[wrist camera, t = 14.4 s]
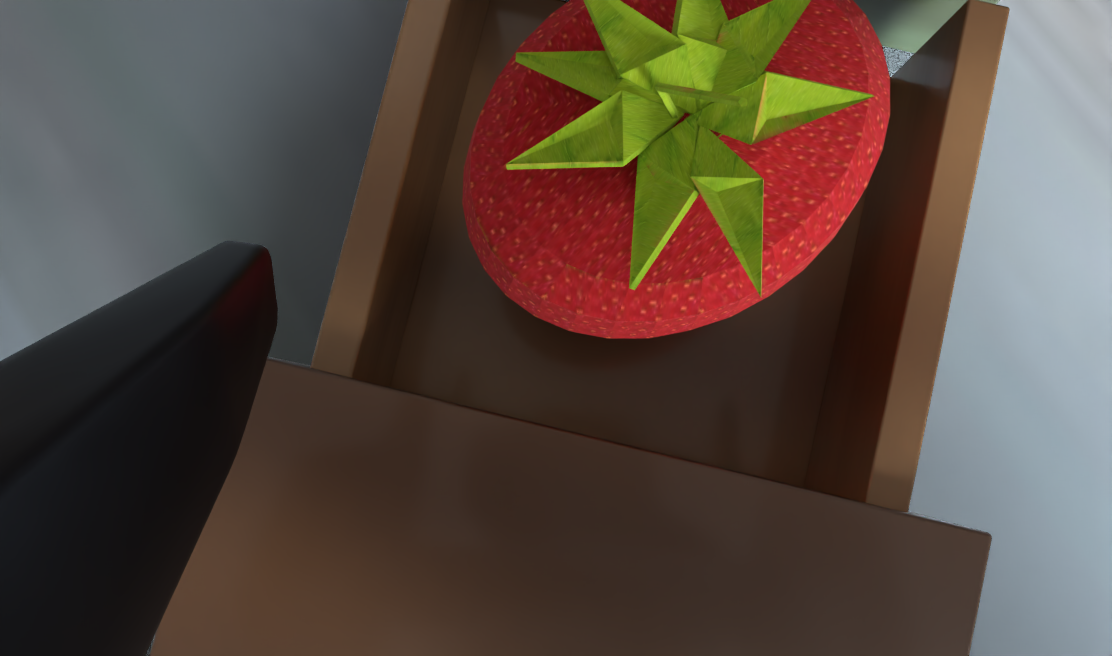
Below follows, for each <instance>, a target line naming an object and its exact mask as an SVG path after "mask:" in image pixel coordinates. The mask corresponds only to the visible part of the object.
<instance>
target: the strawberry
mask: <svg viewBox="0 0 1112 656" xmlns="http://www.w3.org/2000/svg"><path fill="white" fill-rule="evenodd" d="M889 117H890V76H889V72H888V68H887V64H886V60H885V56H884V52H883V48H882V44H881V42H880V40H879V39H878V37H877V35H876V33H875V31H874V29H873V27H872V25H871V23H870V21H869V20H868V18H867V16H866V14H865V13H864V12H863V11H862V10H861V9H860V8H859V6H858V5H857V4H856V3H855V2H854V1H853V0H570V1H569V2H567V3H566V4H564V5H563V6H562V7H560V8H559V9H557V10H556V11H555V12H553V13H552V14H551V15H550V16H549V17H548V18H547V19H546V20H545V21H544V22H543V23H542V24H541V25H540V26H539V27H538V28H537V29H536V30H535V31H534V32H533V33H532V34H531V35H530V36H529V37H528V38H527V39H526V40H525V41H524V42H523V43H522V44H521V45H520V46H519V48H518V49H517V51H516V52H515V53H514V55H513V56H512V58H511V59H510V60H509V62H508V63H507V65H506V66H505V67H504V69H503V70H502V72H501V73H500V74H499V76H498V77H497V79H496V81H495V83H494V86H493V88H492V90H491V92H490V94H489V96H488V98H487V100H486V102H485V104H484V106H483V109H482V111H481V113H480V115H479V118H478V120H477V123H476V126H475V128H474V131H473V134H472V138H471V142H470V146H469V149H468V153H467V157H466V161H465V165H464V174H463V199H462V205H463V210H464V215H465V220H466V225H467V230H468V235H469V239H470V241H471V243H472V245H473V247H474V249H475V251H476V254H477V256H478V258H479V260H480V262H481V264H482V266H483V268H484V270H485V271H486V272H487V273H488V275H489V276H490V277H491V278H492V279H493V281H494V282H495V283H496V284H497V285H498V287H499V288H500V289H501V290H502V291H503V292H504V294H505V295H506V296H507V297H509V298H510V299H512V300H513V301H514V302H516V303H517V304H518V305H520V306H521V307H523V308H524V309H525V310H527V311H528V312H529V313H531V314H532V315H534V316H535V317H537V318H540V319H542V320H544V321H547V322H549V323H551V324H554V325H556V326H559V327H561V328H563V329H566V330H568V331H572V332H577V333H582V334H587V335H593V336H598V337H603V338H653V337H658V336H664V335H669V334H674V333H679V332H684V331H689V330H692V329H695V328H699V327H702V326H705V325H708V324H711V323H714V322H717V321H720V320H723V319H726V318H729V317H732V316H733V315H735V314H737V313H739V312H741V311H743V310H744V309H746V308H748V307H750V306H752V305H754V304H756V303H757V302H759V301H761V300H763V299H765V298H767V297H769V296H770V295H771V294H773V293H774V292H775V291H777V290H778V289H779V288H781V287H782V286H783V285H784V284H786V283H787V282H788V281H790V280H791V279H792V278H794V277H795V276H796V275H798V274H799V273H800V272H802V271H803V270H804V269H805V268H806V267H807V266H808V265H809V264H810V263H811V262H812V261H813V260H814V258H815V257H816V256H817V255H818V254H819V253H820V252H821V251H822V250H823V249H824V248H825V247H826V246H827V245H828V244H829V243H830V242H831V241H832V240H833V238H834V237H835V235H836V234H837V232H838V231H839V229H840V228H841V226H842V225H843V223H844V222H845V220H846V219H847V217H848V216H849V214H850V213H851V211H852V210H853V208H854V207H855V205H856V204H857V202H858V200H859V199H860V197H861V195H862V194H863V192H864V190H865V189H866V187H867V185H868V182H869V180H870V178H871V175H872V173H873V171H874V169H875V166H876V164H877V162H878V159H879V157H880V155H881V152H882V150H883V145H884V140H885V136H886V131H887V126H888V121H889Z"/></svg>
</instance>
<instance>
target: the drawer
mask: <svg viewBox="0 0 1112 656" xmlns="http://www.w3.org/2000/svg"><path fill="white" fill-rule="evenodd" d="M853 1H854V2H855V3H856V4H857V5H858V6H859V8H860V9H861V10H862V11H863V12H864V13H865V14H866V16H867V18H868V20H869V21H870V23H871V25H872V27H873V29H874V31H875V33H876V35H877V37H878V39H879V40H880V42H881V44H882V46H885V47H889V48H894V49H898V50H902V51H907V52H911V53H915V54H914V55H913V56H912V57H911V58H910V59H909V60H908V61H907V62H906V63H905V64H904V65H903V66H902V67H901V68H900V69H899V70H898V71H897V72H896V73H895V74H894V75H893V76H892V77H890V117H889V121H888V126H887V131H886V136H885V140H884V145H883V150H882V152H881V155H880V157H879V159H878V162H877V164H876V166H875V169H874V171H873V173H872V175H871V178H870V180H869V182H868V185H867V187H866V189H865V190H864V192H863V194H862V195H861V197H860V199H859V200H858V202H857V204H856V205H855V207H854V208H853V210H852V211H851V213H850V214H849V216H848V217H847V219H846V220H845V222H844V223H843V225H842V226H841V228H840V229H839V231H838V232H837V234H836V235H835V237H834V238H833V240H832V241H831V242H830V243H829V244H828V245H827V246H826V247H825V248H824V249H823V250H822V251H821V252H820V253H819V254H818V255H817V256H816V257H815V258H814V260H813V261H812V262H811V263H810V264H809V265H808V266H807V267H806V268H805V269H804V270H803V271H802V272H800V273H799V274H798V275H796V276H795V277H794V278H792V279H791V280H790V281H788V282H787V283H786V284H784V285H783V286H782V287H781V288H779V289H778V290H777V291H775V292H774V293H773V294H771V295H770V296H769V297H767V298H765V299H763V300H761V301H759V302H757V303H756V304H754V305H752V306H750V307H748V308H746V309H744V310H743V311H741V312H739V313H737V314H735V315H733V316H732V317H729V318H726V319H723V320H720V321H717V322H714V323H711V324H708V325H705V326H702V327H699V328H695V329H692V330H689V331H684V332H679V333H674V334H669V335H664V336H658V337H653V338H603V337H598V336H593V335H587V334H582V333H577V332H572V331H568V330H566V329H563V328H561V327H559V326H556V325H554V324H551V323H549V322H547V321H544V320H542V319H540V318H537V317H535V316H534V315H532V314H531V313H529V312H528V311H527V310H525V309H524V308H523V307H521V306H520V305H518V304H517V303H516V302H514V301H513V300H512V299H510V298H509V297H507V296H506V295H505V294H504V292H503V291H502V290H501V289H500V288H499V287H498V285H497V284H496V283H495V282H494V281H493V279H492V278H491V277H490V276H489V275H488V273H487V272H486V271H485V270H484V268H483V266H482V264H481V262H480V260H479V258H478V256H477V254H476V251H475V249H474V247H473V245H472V243H471V241H470V239H469V235H468V230H467V225H466V220H465V215H464V210H463V205H462V199H463V174H464V165H465V161H466V157H467V153H468V149H469V146H470V142H471V138H472V134H473V131H474V128H475V126H476V123H477V120H478V118H479V115H480V113H481V111H482V109H483V106H484V104H485V102H486V100H487V98H488V96H489V94H490V92H491V90H492V88H493V86H494V83H495V81H496V79H497V77H498V76H499V74H500V73H501V72H502V70H503V69H504V67H505V66H506V65H507V63H508V62H509V60H510V59H511V58H512V56H513V55H514V53H515V52H516V51H517V49H518V48H519V46H520V45H521V44H522V43H523V42H524V41H525V40H526V39H527V38H528V37H529V36H530V35H531V34H532V33H533V32H534V31H535V30H536V29H537V28H538V27H539V26H540V25H541V24H542V23H543V22H544V21H545V20H546V19H547V18H548V17H549V16H550V15H551V14H552V13H553V12H555V11H556V10H557V9H559V8H560V7H562V6H563V5H564V4H566V3H567V2H566V1H562V0H408V2H407V6H406V10H405V14H404V17H403V21H402V25H401V29H400V32H399V36H398V40H397V44H396V47H395V51H394V55H393V59H392V62H391V66H390V70H389V74H388V77H387V81H386V85H385V89H384V92H383V96H382V100H381V103H380V107H379V111H378V115H377V118H376V122H375V126H374V130H373V133H372V137H371V141H370V145H369V148H368V152H367V156H366V160H365V163H364V167H363V171H362V175H361V178H360V182H359V186H358V190H357V193H356V197H355V201H354V205H353V208H352V212H351V216H350V220H349V223H348V227H347V231H346V235H345V238H344V242H343V246H342V249H341V253H340V257H339V261H338V264H337V268H336V272H335V276H334V279H333V283H332V287H331V291H330V294H329V298H328V302H327V306H326V309H325V313H324V317H323V321H322V324H321V328H320V332H319V336H318V339H317V343H316V347H315V351H314V354H313V358H312V362H311V366H310V368H314V369H318V370H322V371H326V372H330V373H334V374H338V375H343V376H347V377H351V378H355V379H359V380H363V381H367V382H371V383H376V384H380V385H384V386H388V387H392V388H396V389H400V390H404V391H408V392H413V393H417V394H421V395H425V396H429V397H433V398H437V399H441V400H446V401H450V402H454V403H458V404H462V405H466V406H470V407H474V408H479V409H483V410H487V411H491V412H495V413H499V414H503V415H507V416H511V417H516V418H520V419H524V420H528V421H532V422H536V423H540V424H544V425H549V426H553V427H557V428H561V429H565V430H569V431H573V432H577V433H581V434H586V435H590V436H594V437H598V438H602V439H606V440H610V441H614V442H619V443H623V444H627V445H631V446H635V447H639V448H643V449H647V450H652V451H656V452H660V453H664V454H668V455H672V456H676V457H680V458H684V459H689V460H693V461H697V462H701V463H705V464H709V465H713V466H717V467H722V468H726V469H730V470H734V471H738V472H742V473H746V474H750V475H755V476H759V477H763V478H767V479H771V480H775V481H779V482H783V483H787V484H792V485H796V486H800V487H804V488H808V489H812V490H816V491H820V492H825V493H829V494H833V495H837V496H841V497H845V498H849V499H853V500H857V501H862V502H866V503H870V504H874V505H878V506H882V507H886V508H890V509H895V510H899V511H903V512H907V513H908V510H909V505H910V500H911V495H912V490H913V485H914V480H915V475H916V470H917V465H918V460H919V455H920V450H921V445H922V440H923V436H924V431H925V426H926V421H927V416H928V411H929V406H930V401H931V396H932V391H933V386H934V381H935V376H936V371H937V366H938V361H939V356H940V351H941V346H942V341H943V336H944V331H945V327H946V322H947V317H948V312H949V307H950V302H951V297H952V292H953V287H954V282H955V277H956V272H957V267H958V262H959V257H960V252H961V247H962V242H963V237H964V232H965V227H966V222H967V218H968V213H969V208H970V203H971V198H972V193H973V188H974V183H975V178H976V173H977V168H978V163H979V158H980V153H981V148H982V143H983V138H984V133H985V128H986V123H987V118H988V113H989V109H990V104H991V99H992V94H993V89H994V84H995V79H996V74H997V69H998V64H999V59H1000V54H1001V49H1002V44H1003V39H1004V34H1005V29H1006V24H1007V19H1008V14H1009V8H1008V7H1005V6H1000V5H996V4H997V3H998V2H999V1H1000V0H853Z"/></svg>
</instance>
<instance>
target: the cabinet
mask: <svg viewBox="0 0 1112 656" xmlns="http://www.w3.org/2000/svg"><path fill="white" fill-rule="evenodd" d="M310 366H311V365H306V364H301V363H296V362H292V361H287V360H282V359H277V358H272V357H268V358H267V361H266V364H265V367H264V370H263V374H262V377H261V380H260V383H259V386H258V389H257V393H256V396H255V399H254V402H253V405H252V409H251V412H250V415H249V418H248V421H247V425H246V428H245V431H244V434H243V437H242V440H241V443H240V446H239V449H238V452H237V455H236V457H235V459H234V462H233V464H232V466H231V469H230V471H229V474H228V476H227V478H226V480H225V482H224V485H223V487H222V489H221V491H220V493H219V495H218V498H217V500H216V502H215V504H214V506H213V509H212V511H211V513H210V515H209V517H208V519H207V522H206V524H205V526H204V528H203V530H202V533H201V535H200V537H199V539H198V541H197V543H196V546H195V548H194V550H193V552H192V554H191V557H190V559H189V561H188V563H187V565H186V567H185V570H184V572H183V574H182V576H181V578H180V581H179V583H178V585H177V587H176V589H175V591H174V594H173V596H172V598H171V600H170V602H169V605H168V607H167V609H166V611H165V613H164V615H163V618H162V620H161V622H160V624H159V626H158V629H157V631H156V633H155V636H154V640H153V644H152V647H151V651H150V654H149V656H969V653H970V648H971V643H972V638H973V633H974V627H975V622H976V617H977V612H978V607H979V601H980V596H981V591H982V586H983V581H984V576H985V570H986V565H987V560H988V555H989V550H990V544H991V539H992V536H991V534H989V533H988V532H984V531H981V530H977V529H973V528H969V527H966V526H962V525H958V524H955V523H951V522H947V521H943V520H940V519H936V518H932V517H929V516H925V515H921V514H917V513H914V512H910V511H908V513H907V512H903V511H899V510H895V509H890V508H886V507H882V506H878V505H874V504H870V503H866V502H862V501H857V500H853V499H849V498H845V497H841V496H837V495H833V494H829V493H825V492H820V491H816V490H812V489H808V488H804V487H800V486H796V485H792V484H787V483H783V482H779V481H775V480H771V479H767V478H763V477H759V476H755V475H750V474H746V473H742V472H738V471H734V470H730V469H726V468H722V467H717V466H713V465H709V464H705V463H701V462H697V461H693V460H689V459H684V458H680V457H676V456H672V455H668V454H664V453H660V452H656V451H652V450H647V449H643V448H639V447H635V446H631V445H627V444H623V443H619V442H614V441H610V440H606V439H602V438H598V437H594V436H590V435H586V434H581V433H577V432H573V431H569V430H565V429H561V428H557V427H553V426H549V425H544V424H540V423H536V422H532V421H528V420H524V419H520V418H516V417H511V416H507V415H503V414H499V413H495V412H491V411H487V410H483V409H479V408H474V407H470V406H466V405H462V404H458V403H454V402H450V401H446V400H441V399H437V398H433V397H429V396H425V395H421V394H417V393H413V392H408V391H404V390H400V389H396V388H392V387H388V386H384V385H380V384H376V383H371V382H367V381H363V380H359V379H355V378H351V377H347V376H343V375H338V374H334V373H330V372H326V371H322V370H318V369H314V368H310Z"/></svg>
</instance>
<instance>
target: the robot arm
mask: <svg viewBox="0 0 1112 656" xmlns="http://www.w3.org/2000/svg"><path fill="white" fill-rule="evenodd" d="M277 320H278V307H277V299H276V291H275V283H274V275H273V268H272V260H271V256H270V253H269V251H268V249H267V248H266V247H264V246H263V245H260V244H252V243H244V242H237V241H225V242H223V243H220V244H218V245H216V246H215V247H213V248H211V249H209V250H207V251H205V252H203V253H201V254H200V255H198V256H196V257H194V258H192V259H190V260H188V261H187V262H185V263H183V264H181V265H179V266H177V267H175V268H173V269H172V270H170V271H168V272H166V273H164V274H162V275H160V276H159V277H157V278H155V279H153V280H151V281H149V282H147V283H145V284H144V285H142V286H140V287H138V288H136V289H134V290H132V291H130V292H129V293H127V294H125V295H123V296H121V297H119V298H117V299H116V300H114V301H112V302H110V303H108V304H106V305H104V306H102V307H101V308H99V309H97V310H95V311H93V312H91V313H89V314H88V315H86V316H84V317H82V318H80V319H78V320H76V321H74V322H73V323H71V324H69V325H67V326H65V327H63V328H61V329H60V330H58V331H56V332H54V333H52V334H50V335H48V336H46V337H45V338H43V339H41V340H39V341H37V342H35V343H33V344H31V345H30V346H28V347H26V348H24V349H22V350H20V351H18V352H17V353H15V354H13V355H11V356H9V357H7V358H5V359H3V360H2V361H0V656H145V655H146V653H147V650H148V648H149V646H150V644H151V642H152V639H153V637H154V635H155V633H156V631H157V629H158V626H159V624H160V622H161V620H162V618H163V615H164V613H165V611H166V609H167V607H168V605H169V602H170V600H171V598H172V596H173V594H174V591H175V589H176V587H177V585H178V583H179V581H180V578H181V576H182V574H183V572H184V570H185V567H186V565H187V563H188V561H189V559H190V557H191V554H192V552H193V550H194V548H195V546H196V543H197V541H198V539H199V537H200V535H201V533H202V530H203V528H204V526H205V524H206V522H207V519H208V517H209V515H210V513H211V511H212V509H213V506H214V504H215V502H216V500H217V498H218V495H219V493H220V491H221V489H222V487H223V485H224V482H225V480H226V478H227V476H228V474H229V471H230V469H231V466H232V464H233V462H234V459H235V457H236V455H237V452H238V449H239V446H240V443H241V440H242V437H243V434H244V431H245V428H246V425H247V421H248V418H249V415H250V412H251V409H252V405H253V402H254V399H255V396H256V393H257V389H258V386H259V383H260V380H261V377H262V374H263V370H264V367H265V364H266V361H267V358H268V354H269V351H270V348H271V345H272V342H273V338H274V335H275V332H276V327H277Z"/></svg>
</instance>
